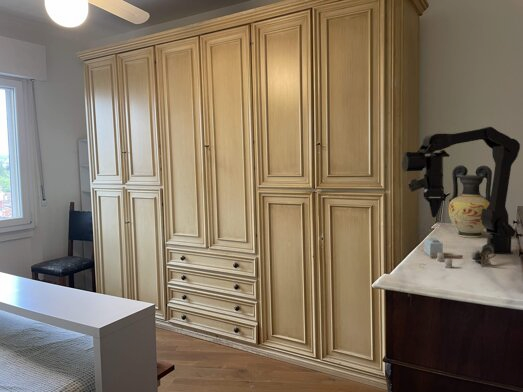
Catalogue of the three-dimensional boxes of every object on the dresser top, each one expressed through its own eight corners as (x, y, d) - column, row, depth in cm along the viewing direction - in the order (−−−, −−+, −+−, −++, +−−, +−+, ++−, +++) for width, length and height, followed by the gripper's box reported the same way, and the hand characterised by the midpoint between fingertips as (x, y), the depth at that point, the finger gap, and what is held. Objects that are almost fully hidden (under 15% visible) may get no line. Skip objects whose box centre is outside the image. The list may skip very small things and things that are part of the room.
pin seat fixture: (455, 253, 143) (455, 246, 143) (477, 268, 124) (477, 260, 124) (425, 253, 144) (425, 246, 144) (442, 268, 125) (442, 260, 125)
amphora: (494, 234, 176) (496, 164, 173) (492, 241, 162) (494, 165, 159) (450, 231, 186) (451, 165, 183) (444, 237, 171) (445, 166, 169)
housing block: (436, 251, 145) (436, 237, 144) (442, 256, 138) (442, 241, 138) (424, 251, 145) (424, 237, 145) (430, 256, 139) (430, 240, 138)
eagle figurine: (503, 265, 123) (500, 253, 131) (489, 245, 123) (487, 235, 131) (479, 275, 127) (477, 263, 134) (465, 256, 127) (464, 245, 135)
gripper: (411, 170, 153) (411, 211, 154) (407, 172, 136) (407, 218, 137) (443, 169, 148) (443, 211, 150) (443, 171, 131) (443, 219, 133)
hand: (434, 215), depth 143 cm, fingers open, 9 cm apart
